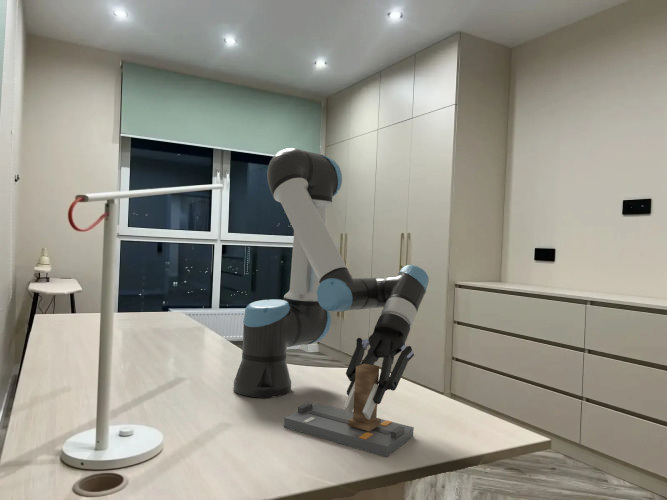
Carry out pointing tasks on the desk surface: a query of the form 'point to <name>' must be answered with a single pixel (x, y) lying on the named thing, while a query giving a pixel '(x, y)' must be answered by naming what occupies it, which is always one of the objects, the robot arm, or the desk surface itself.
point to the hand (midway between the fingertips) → (356, 413)
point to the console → (348, 429)
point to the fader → (364, 397)
